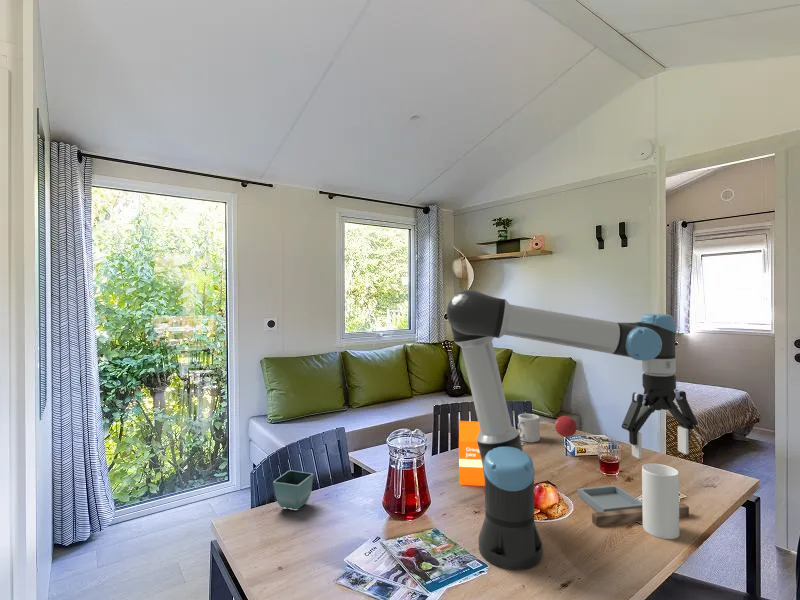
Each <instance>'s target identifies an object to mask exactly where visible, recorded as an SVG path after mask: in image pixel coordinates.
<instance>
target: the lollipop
mask: <svg viewBox="0 0 800 600" xmlns="http://www.w3.org/2000/svg"><path fill="white" fill-rule="evenodd" d="M554 428H555V431H556V432H557V434H558V435H560V436H561V437H563V438H565V439H564V440H565V456H568V439H567V438H571V437H573V436H574V435H575V434H576V432H577V428H578V425H577V423H576V421H575V420H574V418H573V417H571V416H568V415H562V416H559V417H557V418H556V420H555V423H554Z"/></svg>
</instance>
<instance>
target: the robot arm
mask: <svg viewBox="0 0 800 600" xmlns="http://www.w3.org/2000/svg"><path fill="white" fill-rule="evenodd" d="M446 317H447V321H448V323H449V325H450V328H451V333H452V337H453V341H454V342H453V343H454V344H456V345H458V347H460V348H461V352H462V353H461V354H462V356H463V361H464V365H465V370H466V373H467V374H466V376H467V379H468V383H469V387H470V390H471V395H472V400H473V405H474V409H475V413H476V419H477V421H478V423H479V427H480V433H479V434H478V436H477V443H478V447H479V452H480V456H481V461H482V466H483V473H484V482H485V486H484V509H485V511H484V512H485V514H484V520H483V523H482V526H481V529H480V532H479V534H478V551H479V553H480V555H481V556H482V558H484V560H486V561H487V562H489V563H490V564H492V565H494V566H497V567H499V568H503V569H509V570H526V569H530V568H533V567H535V566H537V565H538V564H540V563H541V561H542V560H543V555H544V552H543V551H544V550H543V542H542V539H541V536H540V533H539V531H538V528H537V525H536V521H535V520H536V519H535V480H534V479H535V466H534V462H533V461H534V460H533V459H532V457H531V456H530V454H528V453H527V452H526V451H524V448H523V444H522V441H521V440H520V436H519V429H518V428H516V427H514V426H513V425H512V423H511V418H510V413H509V409H508V405H507V400H506V396H505V392H504V387H503V383H502V379H501V375H500V370H499V366H498V362H497V357H496V352H495V347H494V344H493V339H494V338H496V339H500V338H502V337H504V336H510V337H515V338H521V339H527V340H532V341H539V342H543V343H549V344H555V345H561V346H567V347H570V348H571V347H572V348H577V349H583V350H589V351H595V352H600V353H604V354H605V353H606V354H610V355H615V356H620V357H627V358H631V359H633V360H636V361H641V371H642V372H643V374H642V381H641V382H642V387H643V389H644V390H643V393H637V392H633V393H632V396H631V397H632V398H631V402H630V405H629V407H628V410H627V412H626V414H625V417H624V419H623V420H622V424H621V428H622V429H623V430H625V431H627V432H629V433H628V435H629V436H628V438H629V441H628V442H629V444H630V445H631V455H632V456H633V457H634V458H637V459H639V460H641V459H642V458H643V457H642V453H643V452H642V451H643V450H642V449H643V448H642V447H643V445H642V433H641V432H640V430H641V429H642V427H644V424H645V423H646V421H647V420H648V418H649V417H650V416H651V415H652V414H653V413H655V411H662V410H665V411H668V412H669V413H670V414H671V415H672V417H673V418H674V419H675V420H676V421H677V423H678V424H679V426H677V451H678V452H680V453H682V454H683V455H689V452H690V451H689V446H690V445H689V441H690V440H691V431H693V430H694V429H695V427H696V426H698V421H697V419H696V417H695V414H694V412H693V410H692V408H691V406H690V404H689V402H688V400H687V392H686V391H685V390H680V389H677V376H675V374H676V372H677V368H676V366H677V364H676V359H677V358H676V333H677V332H676V323H675V318H674V316H672V315H671V314H665V313H661V314H660V313H650V314H643V315H642V316H641V319H640V321H637V322H615V321H610V320H603V319H598V318H597V319H596V318H593V317H592V318H591V317H587V316H581V315H580V316H579V315H575V314H568V313H563V312H562V313H561V312H557V311H550V310H545V309H541V308H540V309H539V308H532V307H527V306H521V305H518V304H517V305H516V304H512V303H511V304H510V302H508V300H507V299H505V298H499V297H495V296H492V295H487V294H485V293H482V292H480V291H479V290H475V289H463V290H460V291H458V292H456V293H455V294H454V295H453V296H452V297H451V298H450V299H449V302H448V304H447V308H446ZM674 400H675V401H676V403H677V404H676V403H675V402H674Z"/></svg>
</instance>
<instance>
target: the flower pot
mask: <svg viewBox="0 0 800 600" xmlns="http://www.w3.org/2000/svg"><path fill="white" fill-rule="evenodd" d="M313 480H314V473H311V472H303V471H297V470H291V469H290V470H287V471H286V472H285V473H283V474H282V475H280V476H279V477H278V478H276V479H275V480H272V484H273V490H274V495H275V499H276V501H277V504H278V505H279V506H280V508H281V507H286V508H292V509H299V508H300V507H301V506H302V505H303V504H305V503H306V504H307V502H308V500H309V499H310V497H311V494H312V488H313V483H314V481H313ZM306 504H305V505H306ZM300 509H301V508H300ZM300 509H299V510H300Z"/></svg>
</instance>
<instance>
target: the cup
mask: <svg viewBox="0 0 800 600" xmlns="http://www.w3.org/2000/svg"><path fill="white" fill-rule="evenodd" d="M679 483H680V476H679V471H678V470H677V469H675V468H674V467H672V466H669V465H665V464H660V463H645V464H643V465H642V466H641V488H642V489H641V490H642V491H641V493H642V494H641V502H642V510H643V521H642V528H643V530H644V531H645V532H646V533H647V534H649V535H650V536H653V537H656V538H658V539H659V538H660V539H665V540H673V539H677V538H679V536H680V517H679V504H680V484H679Z"/></svg>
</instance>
